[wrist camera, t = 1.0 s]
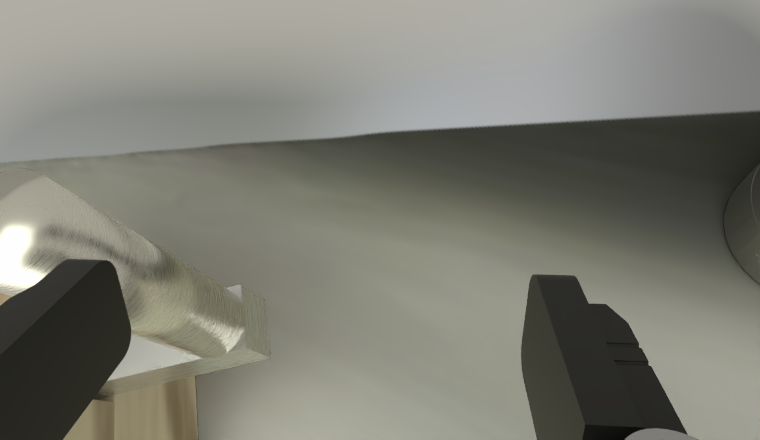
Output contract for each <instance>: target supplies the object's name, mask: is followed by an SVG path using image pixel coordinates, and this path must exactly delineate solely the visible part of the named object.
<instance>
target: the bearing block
mask: <svg viewBox="0 0 760 440" xmlns="http://www.w3.org/2000/svg"><path fill="white" fill-rule="evenodd" d="M11 297H12V296H9V295H5V294H2V293H0V306H1V305H2V304H3V303H4V302H5V301H7V300H8V299H9V298H11ZM63 440H198V422H197V402H196V381H195V376H193V377H189V378H184V379H180V380H176V381H172V382H167V383H163V384H159V385H155V386H150V387H146V388H142V389H138V390H133V391H129V392H125V393H121V394H116V395H112V396H108V397H103V398H99V399H95V400H92V401H91V403H90V404H89V405H88V407H87V408H86V409H85V411H84V412H83V413H82V415H81V416H80V417H79V419H78V420H77V422H76V423H75V424H74V426H73V427H72V428H71V430H70V431H69V432H68V434H67V435H66V436H65V438H64V439H63Z"/></svg>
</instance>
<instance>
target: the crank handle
mask: <svg viewBox="0 0 760 440" xmlns="http://www.w3.org/2000/svg"><path fill="white" fill-rule="evenodd" d="M67 259H90V260H108V261H110V262H111V263H112V264H113V265H114V266H115V268H116V271H117V275H118V278H119V282H120V286H121V290H122V294H123V297H124V301H125V305H126V309H127V313H128V317H129V320H130V325H131V341H130V345H129V349H128V351H127V353H126V355H125V357H124V359H123V360H122V361H121V363H120V364H119V365H118V367H117V368H116V369H115V371H114V372H113V373H112V375H111V376H110V377H109V379H108V380H107V381H106V383H105V384H104V385H103V387H102V388H101V389H100V391H99V392H98V393H97V395H96V396H95V397H94V399H93V400H95V399H99V398H103V397H108V396H112V395H116V394H121V393H125V392H129V391H133V390H138V389H142V388H146V387H150V386H155V385H159V384H163V383H167V382H172V381H176V380H180V379H184V378H189V377H193V376H197V375H201V374H206V373H210V372H214V371H218V370H223V369H227V368H231V367H235V366H240V365H244V364H248V363H252V362H257V361H261V360H265V359H269V358H271V356H270V347H269V338H268V328H267V319H266V309H265V300H264V299H262V298H261V297H259V296H258V295H256V294H255V293H253V292H252V291H250V290H249V289H247V288H246V287H244V286H243V285H241V284H239V285H235V286H231V287H227V288H224V287H223V286H221V285H220V284H218V283H216V282H215V281H213V280H211V279H210V278H208V277H207V276H205V275H203V274H202V273H200V272H199V271H197V270H195V269H194V268H192V267H191V266H189V265H187V264H186V263H184V262H183V261H181V260H179V259H178V258H176V257H174V256H173V255H171V254H170V253H168V252H166V251H165V250H163V249H162V248H160V247H158V246H157V245H155V244H154V243H152V242H150V241H149V240H147V239H146V238H144V237H142V236H141V235H139V234H138V233H136V232H134V231H133V230H131V229H129V228H128V227H126V226H125V225H123V224H121V223H120V222H118V221H117V220H115V219H113V218H112V217H110V216H109V215H107V214H105V213H104V212H102V211H101V210H99V209H97V208H96V207H94V206H92V205H91V204H89V203H88V202H86V201H84V200H83V199H81V198H80V197H78V196H76V195H75V194H73V193H72V192H70V191H68V190H67V189H65V188H64V187H62V186H60V185H59V184H57V183H55V182H54V181H52V180H51V179H49V178H47V177H46V176H44V175H43V174H41V173H39V172H37V171H35V170H32V169H27V168H13V169H8V170H4V171H1V172H0V293H2V294H5V295H9V296H12V297H13V296H14V295H16V294H18V293H20V292H22V291H24V290H26V289H28V288H30V287H32V286H34V285H36V284H37V283H38V282H39V281H40V280H41V279H43V278H44V277H45V276H46V275H47V274H48V273H50V272H51V271H52V270H53V269H54V268H55V267H57V266H58V265H59V264H60V263H61V262H63V261H64V260H67Z"/></svg>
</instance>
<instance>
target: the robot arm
mask: <svg viewBox="0 0 760 440" xmlns="http://www.w3.org/2000/svg"><path fill="white" fill-rule="evenodd" d="M724 230H725V235H726V240H727V242H728V245H729V247H730V249H731V251H732V254H733V256H734V257H735V258H736V260H737V261H738V262H739V264H740V265H741V267H742V268H743V269H744V270H745V271H746V272H747V273H748V274H749V275H750V276H751V277H752V278H753V279H754V280H755V281H756V282H758V283H759V284H760V163H759V164H758V165H757V166H756V168H755V169H754V170H753V171H752V172H751V173H750V174H749V175H748V176H747V177H746V178H745V179H744V180H743V181H742V182H741V183H740V184H739V185H738V187H737V188H736V189H735V191H734V192H733V194H732V195H731V197H730V198H729V200H728V203H727V206H726V209H725V213H724ZM130 341H131V325H130V320H129V317H128V313H127V309H126V305H125V301H124V297H123V294H122V290H121V286H120V282H119V278H118V275H117V271H116V268H115V266H114V265H113V264H112V263H111V262H110V261H108V260H90V259H67V260H64V261H63V262H61V263H60V264H59V265H58V266H57V267H55V268H54V269H53V270H52V271H51V272H50V273H48V274H47V275H46V276H45V277H44V278H43V279H41V280H40V281H39V282H38V283H37V284H36V285H34V286H32V287H30V288H28V289H26V290H24V291H22V292H20V293H18V294H16V295H14V296H13V297H11V298H9V299H8V300H7V301H5V302H4V303H3V304H2V305H1V306H0V440H63V439H64V438H65V436H66V435H67V434H68V432H69V431H70V430H71V428H72V427H73V426H74V424H75V423H76V422H77V420H78V419H79V417H80V416H81V415H82V413H83V412H84V411H85V409H86V408H87V407H88V405H89V404H90V403H91V401H92V400H93V399H94V397H95V396H96V395H97V393H98V392H99V391H100V389H101V388H102V387H103V385H104V384H105V383H106V381H107V380H108V379H109V377H110V376H111V375H112V373H113V372H114V371H115V369H116V368H117V367H118V365H119V364H120V363H121V361H122V360H123V359H124V357H125V355H126V353H127V351H128V349H129V345H130ZM521 361H522V372H523V378H524V383H525V387H526V392H527V396H528V401H529V405H530V410H531V414H532V419H533V423H534V428H535V432H536V436H537V440H698V439H696V438H694V437H691V436H689V435H688V434H687V432H686V431H685V429H684V427H683V425H682V423H681V421H680V419H679V417H678V416H677V414H676V412H675V410H674V408H673V406H672V404H671V403H670V401H669V399H668V397H667V395H666V393H665V391H664V390H663V388H662V386H661V384H660V382H659V380H658V378H657V376H656V375H655V373H654V371H653V369H652V367H651V366H649V365H648V360H647V358H646V356H645V354H644V352H643V350H642V349H641V348H639V343H638V341H637V339H636V337H635V335H634V334H633V332H632V330H631V328H630V326H629V324H628V323H627V322H626V321H625V320H624V319H623V318H622V317H620V316H619V315H618V314H617V313H616V312H614V311H613V310H612V309H611V308H610V307H609V306H607V305H606V304H588V301H587V299H586V297H585V295H584V293H583V290H582V288H581V286H580V284H579V282H578V280H577V278H576V277H575V276H566V275H535V274H534V275H532V277H531V280H530V284H529V291H528V299H527V306H526V314H525V322H524V330H523V337H522V348H521Z"/></svg>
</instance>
